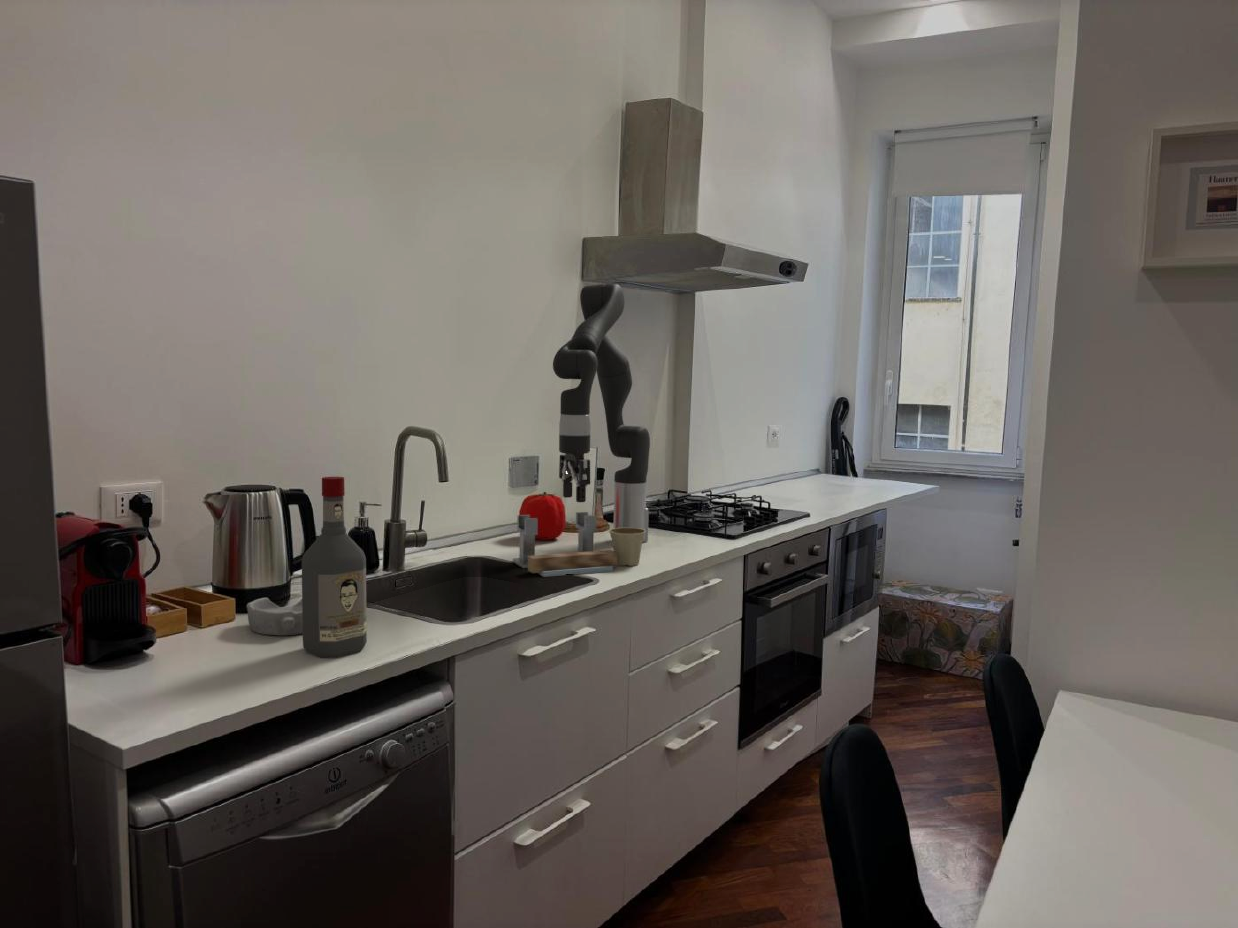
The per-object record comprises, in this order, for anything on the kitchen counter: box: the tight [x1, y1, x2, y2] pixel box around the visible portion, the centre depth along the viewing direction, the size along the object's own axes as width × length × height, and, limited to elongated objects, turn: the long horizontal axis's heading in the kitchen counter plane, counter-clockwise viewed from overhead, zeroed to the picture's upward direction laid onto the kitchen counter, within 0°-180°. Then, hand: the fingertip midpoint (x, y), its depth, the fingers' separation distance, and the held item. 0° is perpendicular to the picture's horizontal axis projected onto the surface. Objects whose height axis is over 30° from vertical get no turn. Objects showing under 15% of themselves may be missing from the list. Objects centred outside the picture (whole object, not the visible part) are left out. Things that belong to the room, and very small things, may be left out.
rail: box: [527, 549, 618, 574], centre depth 225 cm, size 22×4×4 cm, turn 115°
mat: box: [537, 566, 614, 578], centre depth 225 cm, size 18×8×1 cm, turn 115°
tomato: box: [518, 491, 567, 541], centre depth 266 cm, size 16×14×14 cm
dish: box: [246, 597, 303, 636], centre depth 172 cm, size 14×14×5 cm
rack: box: [512, 511, 598, 569], centre depth 234 cm, size 21×8×12 cm, turn 115°
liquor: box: [301, 476, 368, 659], centre depth 158 cm, size 9×9×30 cm
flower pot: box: [608, 527, 646, 567], centre depth 234 cm, size 9×9×9 cm
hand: (574, 499), depth 223 cm, fingers open, 8 cm apart
